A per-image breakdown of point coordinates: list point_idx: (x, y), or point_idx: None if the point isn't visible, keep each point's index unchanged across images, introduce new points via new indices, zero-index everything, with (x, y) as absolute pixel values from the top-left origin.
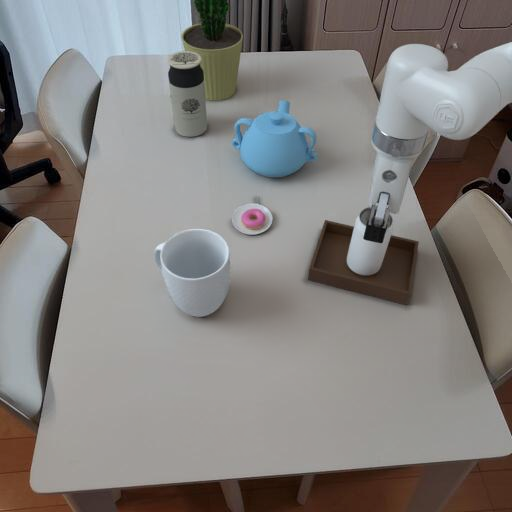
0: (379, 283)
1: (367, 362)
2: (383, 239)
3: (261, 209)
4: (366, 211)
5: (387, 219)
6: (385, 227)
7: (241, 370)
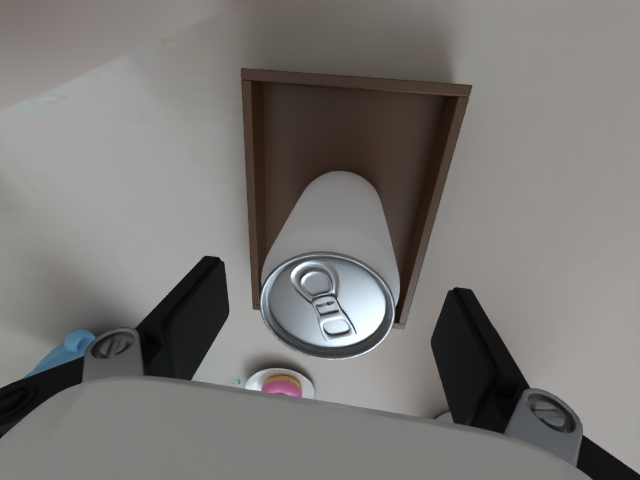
0: (396, 169)
1: (629, 180)
2: (478, 302)
3: (253, 382)
4: (290, 333)
5: (575, 464)
6: (578, 418)
7: (602, 376)
